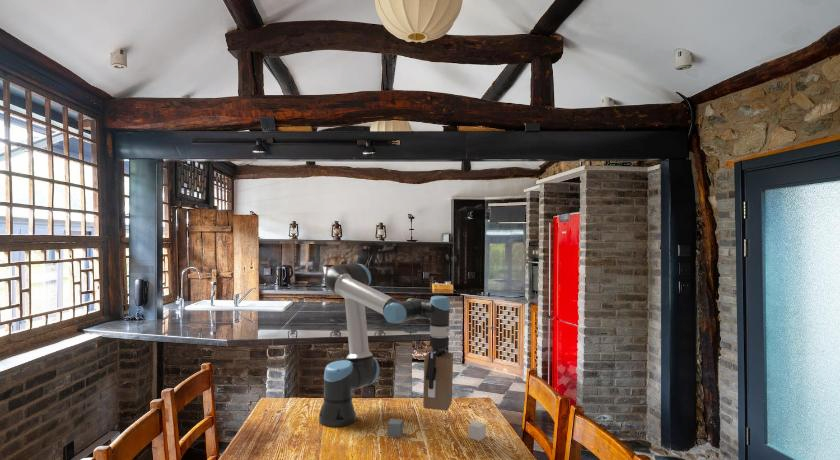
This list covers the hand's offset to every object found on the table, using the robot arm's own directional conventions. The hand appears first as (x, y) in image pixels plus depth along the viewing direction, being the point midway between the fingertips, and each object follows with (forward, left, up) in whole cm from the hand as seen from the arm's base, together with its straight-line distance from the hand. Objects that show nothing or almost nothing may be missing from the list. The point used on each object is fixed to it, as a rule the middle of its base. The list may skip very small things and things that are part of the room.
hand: (438, 392), depth 188 cm
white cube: (+14, +6, -17) cm, 23 cm away
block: (0, 0, -5) cm, 5 cm away
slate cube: (-15, -7, -17) cm, 23 cm away
